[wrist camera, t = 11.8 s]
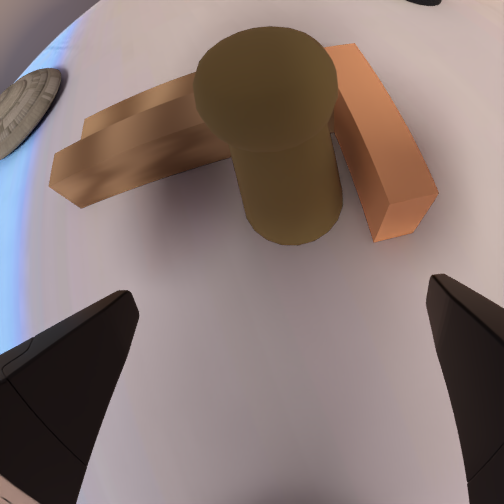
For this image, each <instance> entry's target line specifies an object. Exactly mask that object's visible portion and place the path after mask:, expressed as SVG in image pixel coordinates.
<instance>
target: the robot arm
mask: <svg viewBox="0 0 504 504" xmlns="http://www.w3.org/2000/svg"><path fill="white" fill-rule="evenodd" d="M426 307H427V311H428V316H429V320H430V325H431V329H432V334H433V339H434V343H435V348H436V352H437V356H438V359H439V362H440V365H441V369H442V372H443V376H444V379H445V382H446V386H447V390H448V393H449V397H450V401H451V405H452V409H453V413H454V417H455V421H456V426H457V430H458V435H459V439H460V444H461V449H462V455H463V460H464V466H465V472H466V478H467V482H468V483H467V487H468V494H469V503H470V504H504V308H502V307H501V306H499V305H497V304H496V303H494V302H492V301H491V300H489V299H487V298H486V297H484V296H482V295H481V294H479V293H477V292H475V291H474V290H472V289H470V288H469V287H467V286H465V285H463V284H462V283H460V282H458V281H456V280H455V279H453V278H451V277H449V276H447V275H446V274H434V275H432V276H431V277H430V280H429V286H428V292H427V298H426ZM138 320H139V311H138V308H137V306H136V303H135V301H134V298H133V295H132V293H131V292H130V291H128V290H119V291H116V292H114V293H112V294H110V295H109V296H107V297H105V298H103V299H101V300H99V301H97V302H96V303H94V304H92V305H90V306H88V307H86V308H84V309H83V310H81V311H79V312H77V313H75V314H74V315H72V316H70V317H68V318H66V319H64V320H63V321H61V322H59V323H57V324H55V325H54V326H52V327H50V328H48V329H46V330H45V331H43V332H41V333H39V334H38V335H36V336H35V337H32V338H30V339H29V340H27V341H25V342H23V343H21V344H20V345H18V346H16V347H14V348H12V349H10V350H8V351H7V352H5V353H3V354H1V355H0V504H76V502H77V498H78V495H79V492H80V488H81V485H82V482H83V479H84V475H85V472H86V469H87V465H88V462H89V459H90V456H91V453H92V450H93V447H94V444H95V441H96V438H97V436H98V433H99V430H100V427H101V424H102V421H103V419H104V416H105V413H106V411H107V408H108V405H109V402H110V400H111V397H112V394H113V392H114V389H115V387H116V384H117V382H118V379H119V376H120V374H121V371H122V369H123V366H124V364H125V361H126V359H127V356H128V353H129V350H130V346H131V343H132V339H133V336H134V333H135V329H136V326H137V323H138Z"/></svg>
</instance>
